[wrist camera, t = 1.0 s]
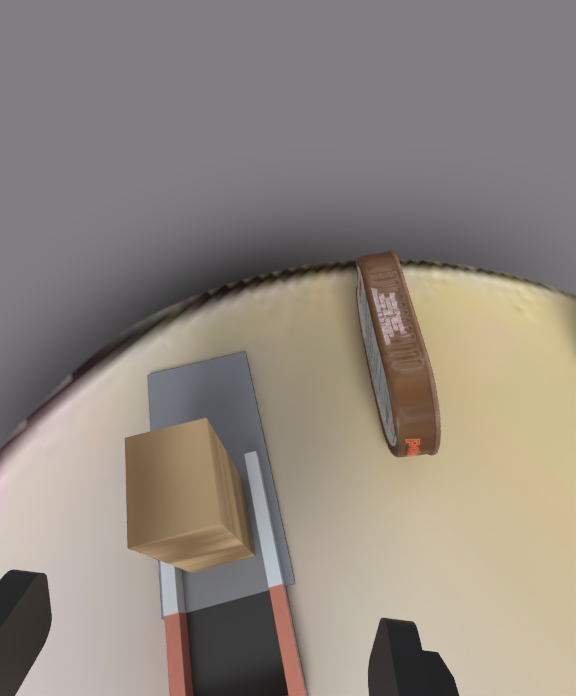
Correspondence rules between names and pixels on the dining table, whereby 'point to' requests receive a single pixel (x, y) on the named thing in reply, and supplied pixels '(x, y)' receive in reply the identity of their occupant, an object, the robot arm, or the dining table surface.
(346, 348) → the dining table surface
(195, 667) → the long grey tray
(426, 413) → the tin
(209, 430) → the oak block
